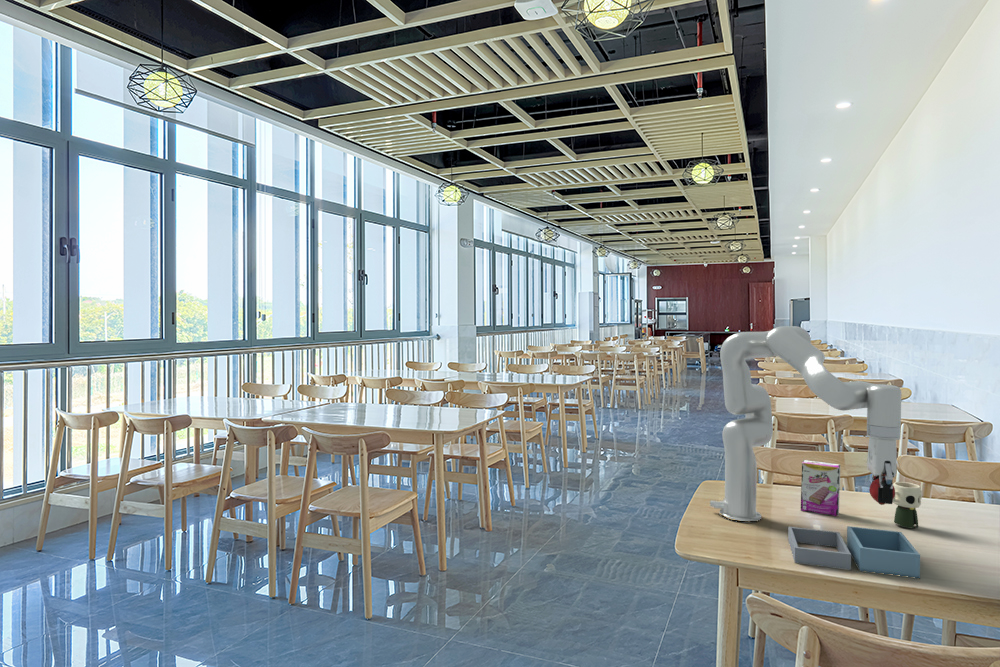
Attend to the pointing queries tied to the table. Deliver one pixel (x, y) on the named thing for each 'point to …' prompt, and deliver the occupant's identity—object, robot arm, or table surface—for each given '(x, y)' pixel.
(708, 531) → the table surface
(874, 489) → the onion
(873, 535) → the blue bin
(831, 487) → the candy bar box
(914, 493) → the character mug
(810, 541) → the grey crate
